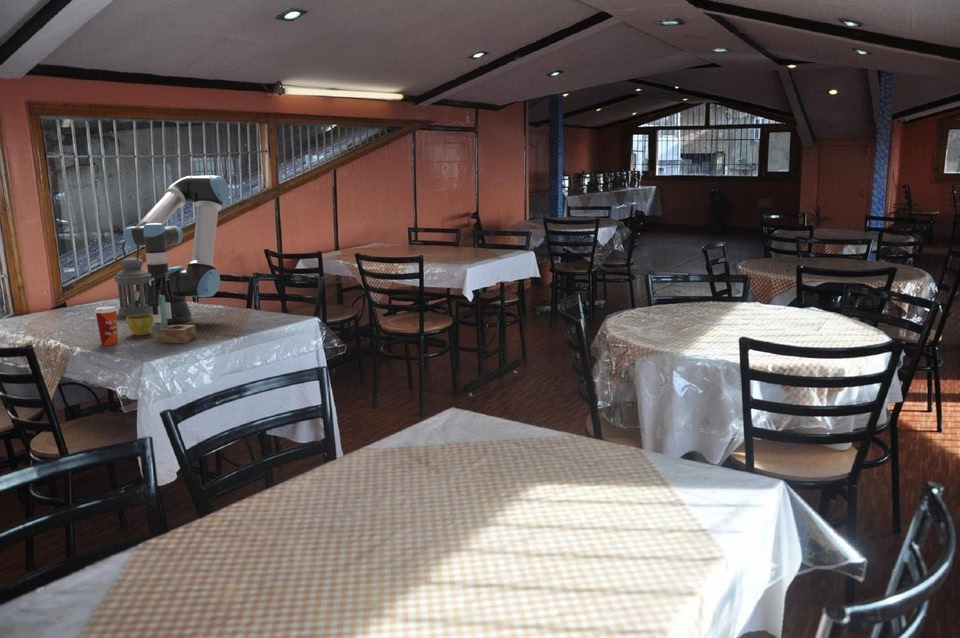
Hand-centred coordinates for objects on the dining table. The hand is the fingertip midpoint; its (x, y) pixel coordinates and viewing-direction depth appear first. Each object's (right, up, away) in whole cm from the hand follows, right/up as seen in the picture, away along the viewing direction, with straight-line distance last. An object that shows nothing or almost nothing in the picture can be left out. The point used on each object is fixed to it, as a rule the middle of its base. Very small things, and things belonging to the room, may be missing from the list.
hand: (163, 320), depth 313 cm
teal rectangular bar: (0, -6, +1) cm, 6 cm away
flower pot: (-10, -6, +5) cm, 13 cm away
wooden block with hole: (+9, -8, -8) cm, 14 cm away
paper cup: (-16, -9, -12) cm, 21 cm away
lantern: (-33, +3, +52) cm, 61 cm away
